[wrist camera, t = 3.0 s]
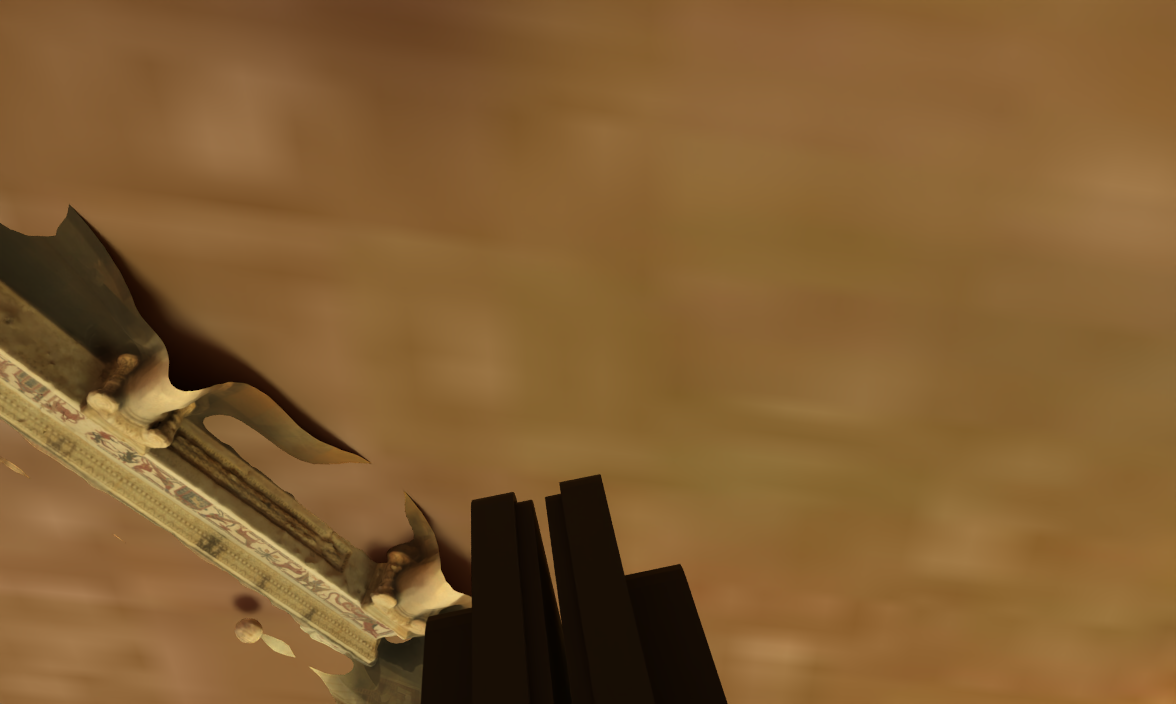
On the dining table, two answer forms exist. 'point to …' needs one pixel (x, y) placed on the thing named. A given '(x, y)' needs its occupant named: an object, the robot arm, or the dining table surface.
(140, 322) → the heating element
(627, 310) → the dining table surface
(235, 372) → the dining table surface
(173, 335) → the dining table surface
